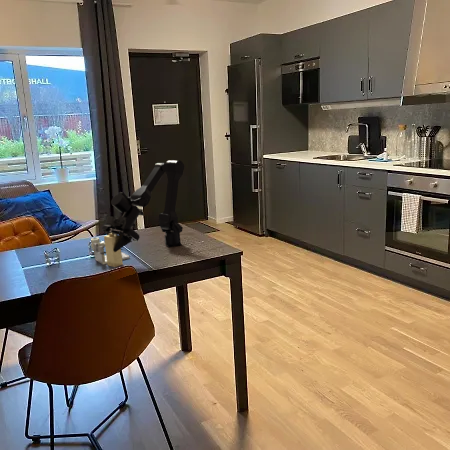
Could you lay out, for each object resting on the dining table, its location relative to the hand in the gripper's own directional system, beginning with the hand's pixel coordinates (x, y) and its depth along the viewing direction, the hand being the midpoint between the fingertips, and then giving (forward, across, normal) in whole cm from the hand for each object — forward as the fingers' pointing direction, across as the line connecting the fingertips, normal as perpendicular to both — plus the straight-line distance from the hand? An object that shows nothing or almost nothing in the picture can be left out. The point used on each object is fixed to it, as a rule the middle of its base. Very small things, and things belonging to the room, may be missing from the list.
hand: (110, 250), depth 195 cm
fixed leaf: (0, -8, +9) cm, 12 cm away
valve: (-4, -22, +13) cm, 26 cm away
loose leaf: (+4, 0, +6) cm, 7 cm away
